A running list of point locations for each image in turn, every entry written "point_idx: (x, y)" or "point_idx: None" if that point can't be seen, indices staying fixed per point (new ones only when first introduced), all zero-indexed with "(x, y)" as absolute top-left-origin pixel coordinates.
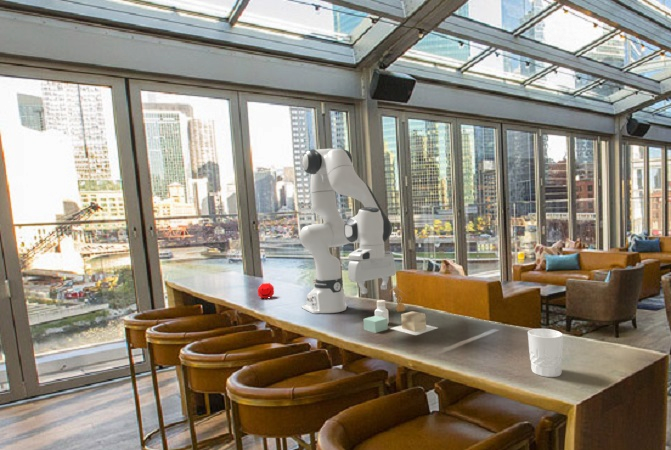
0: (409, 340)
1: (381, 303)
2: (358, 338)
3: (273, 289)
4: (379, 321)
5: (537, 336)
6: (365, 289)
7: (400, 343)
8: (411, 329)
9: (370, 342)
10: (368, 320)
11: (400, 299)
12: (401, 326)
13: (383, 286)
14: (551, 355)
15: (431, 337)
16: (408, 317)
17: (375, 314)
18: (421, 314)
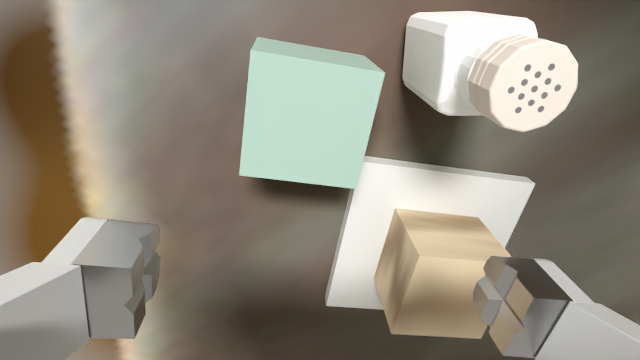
0: (286, 292)
1: (486, 114)
2: (142, 90)
3: None
4: (283, 177)
5: None
6: (88, 330)
7: (229, 287)
8: (380, 266)
9: (142, 186)
10: (245, 109)
11: None
12: (425, 189)
13: (493, 334)
14: None
15: (368, 327)
16: (400, 295)
17: (433, 33)
18: (461, 331)
